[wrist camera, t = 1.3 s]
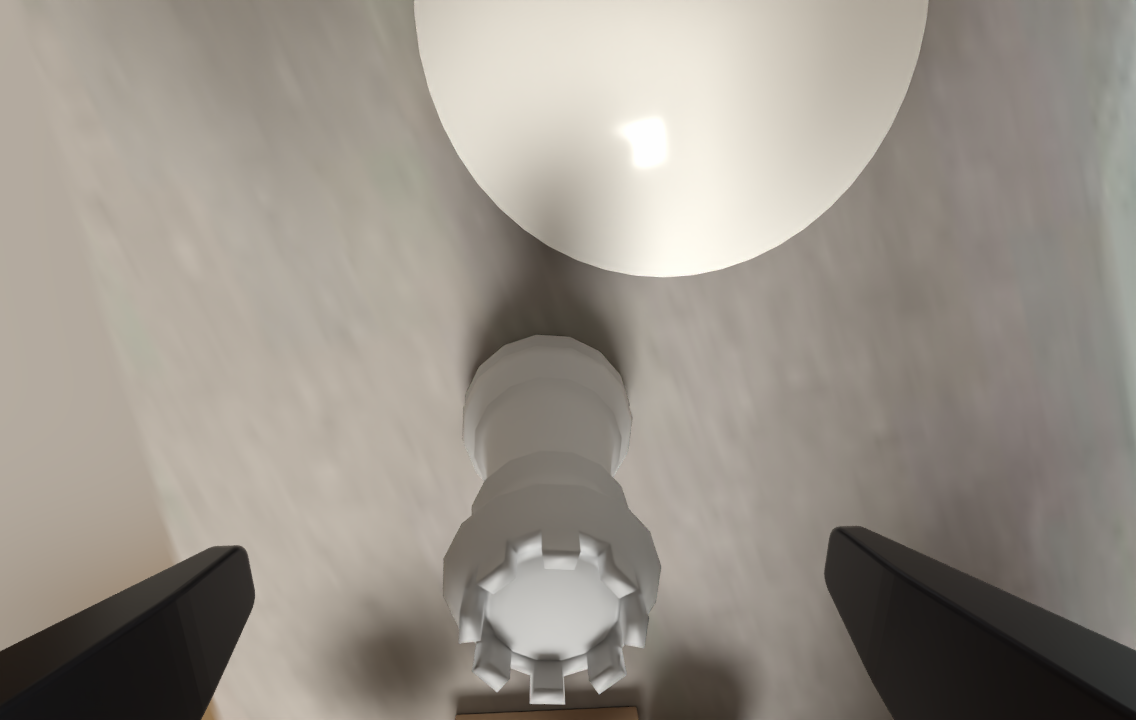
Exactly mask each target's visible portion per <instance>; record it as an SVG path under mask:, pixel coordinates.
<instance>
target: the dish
mask: <svg viewBox="0 0 1136 720" xmlns="http://www.w3.org/2000/svg"><path fill="white" fill-rule="evenodd" d="M928 2H929V0H414V15H415V23H416V30H417V38H418V46H419V53H420V57H421V61H422V65H423V69H424V73H425V77H426V81H427V85H428V89H429V91H430V94H431V97H432V99H433V102H434V105H435V107H436V110H437V113H438V115H439V118H440V121H441V123H442V125H443V127H444V129H445V131H446V133H447V135H448V137H449V139H450V141H451V142H452V144H453V146H454V148H455V150H456V152H457V154H458V156H459V157H460V159H461V160H462V162H463V163H464V164H465V166H466V167H467V169H468V170H469V172H470V173H471V175H472V176H473V178H474V179H475V181H476V182H477V183H478V185H479V186H480V187H481V188H482V189H483V190H484V191H485V192H486V194H487V195H488V196H489V197H490V198H491V199H492V200H493V201H494V203H495V204H496V205H497V206H498V207H499V208H500V209H501V210H502V211H503V212H504V213H506V214H507V215H508V216H509V217H510V218H511V219H512V220H513V221H515V222H516V223H517V224H518V225H519V226H520V227H521V228H523V229H524V230H525V231H527V232H528V233H530V234H531V235H533V236H534V237H536V238H537V239H539V240H540V241H542V242H543V243H545V244H546V245H548V246H549V247H551V248H553V249H555V250H557V251H559V252H561V253H563V254H565V255H567V256H569V257H571V258H573V259H575V260H578V261H581V262H584V263H586V264H589V265H592V266H595V267H598V268H601V269H604V270H609V271H614V272H619V273H624V274H629V275H634V276H652V277H673V276H687V275H696V274H700V273H705V272H710V271H715V270H720V269H724V268H727V267H729V266H732V265H735V264H738V263H741V262H744V261H747V260H750V259H752V258H754V257H756V256H758V255H760V254H762V253H764V252H766V251H768V250H770V249H772V248H774V247H776V246H779V245H780V244H782V243H783V242H785V241H786V240H788V239H789V238H791V237H792V236H794V235H795V234H797V233H798V232H800V231H802V230H803V229H805V228H806V227H807V226H808V225H809V224H811V223H812V222H813V221H814V220H815V219H817V218H818V217H819V216H820V215H821V214H823V213H824V212H825V211H826V210H827V209H829V208H830V207H831V206H832V205H833V204H834V203H835V201H836V200H837V199H838V198H839V197H840V196H841V195H842V194H843V193H844V192H845V191H846V190H847V189H848V188H849V187H850V186H851V185H852V184H853V182H854V181H855V180H856V178H857V177H858V176H859V174H860V173H861V172H862V170H863V169H864V168H865V167H866V165H867V164H868V163H869V161H870V160H871V159H872V157H873V156H874V154H875V153H876V151H877V149H878V148H879V146H880V144H881V143H882V141H883V139H884V138H885V136H886V134H887V133H888V131H889V129H890V128H891V126H892V124H893V121H894V119H895V117H896V115H897V113H898V111H899V108H900V106H901V104H902V102H903V100H904V98H905V95H906V93H907V90H908V87H909V84H910V81H911V78H912V75H913V72H914V69H915V66H916V63H917V60H918V57H919V53H920V48H921V43H922V39H923V34H924V30H925V25H926V20H927V11H928Z"/></svg>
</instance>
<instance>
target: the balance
mask: <svg viewBox="0 0 1136 720" xmlns="http://www.w3.org/2000/svg"><path fill="white" fill-rule="evenodd" d="M455 720H638V714H637V709H636V707H617V708H595V709H574V710H552V711H531V712H510V713H488V714H467V715H456V718H455Z"/></svg>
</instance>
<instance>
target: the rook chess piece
mask: <svg viewBox="0 0 1136 720" xmlns="http://www.w3.org/2000/svg"><path fill="white" fill-rule="evenodd" d="M629 406H630V404H629V401H628V398H627V394H626V391H625V388H624V385H623V381H622V378H621V375H620V374H619V373H618V372H617V371H616V369H615V368H614V367H613V366H612V365H611V364H610V363H609V361H608V360H607V359H606V358H605V357H604V356H603V355H602V353H601V352H600V351H598V350H596V349H594V348H592V347H590V346H588V345H586V344H584V343H582V342H579V341H577V340H575V339H573V338H571V337H564V336H549V335H534V336H531V337H528V338H525V339H521V340H518V341H515V342H512V343H509V344H506V345H504V346H503V347H501V348H500V349H499V350H498V351H497V352H496V353H494V354H493V355H492V356H491V357H490V358H489V359H487V360H486V361H485V362H484V363H483V364H482V365H480V366H479V368H478V370H477V372H476V374H475V376H474V378H473V380H472V382H471V384H470V386H469V389H468V391H467V393H466V395H465V405H464V407H463V437H462V439H463V442H464V445H465V447H466V450H467V452H468V455H469V457H470V459H471V462H472V464H473V467H474V469H475V471H476V473H477V474H478V475H479V476H480V477H481V478H482V479H483V480H484V483H483V485H482V487H481V489H480V491H479V493H478V495H477V497H476V499H475V501H474V503H473V505H472V516H471V517H469V518H468V519H467V520H466V521H464V522H463V523H462V524H461V526H460V528H459V530H458V532H457V534H456V536H455V538H454V539H453V541H452V543H451V545H450V547H449V549H448V551H447V553H446V555H445V557H444V567H443V596H444V598H445V601H446V603H447V605H448V607H449V609H450V611H451V613H452V615H453V617H454V620H455V622H456V624H457V626H458V628H459V644H460V643H467V642H474V643H475V644H476V648H475V655H474V662H473V668H472V672H473V673H474V674H476V675H477V676H478V677H479V678H480V679H482V680H483V681H484V682H485V683H486V684H488V685H489V686H490V687H491V688H492V689H494V690H495V691H496V692H498V691H499V690H500V689H501V688H502V687H503V685H504V684H505V683H506V682H507V681H508V680H509V679H510V668H511V669H514V670H516V671H519V672H522V673H525V674H527V675H530V704H565V691H564V676H566V675H570V674H573V673H576V672H580V671H583V670H586V669H588V675H589V681H590V682H591V684H592V685H593V687H594V688H595V689H596V691H597V692H598V694H600V693H602V692H603V691H605V690H606V689H607V688H609V687H610V686H612V685H613V684H615V683H616V682H617V681H619V680H620V679H622V678H623V677H625V676H626V675H627V674H626V668H625V663H624V657H623V652H622V647H623V646H624V645H629V646H634V647H640V648H644V647H645V641H646V634H647V627H648V620H649V617H648V613H649V612H650V610H651V609H652V607H653V606H654V604H655V603H656V598H657V591H658V584H659V578H660V571H661V564H660V561H659V558H658V555H657V552H656V549H655V546H654V542H653V539H652V536H651V533H650V531H649V530H648V529H647V528H646V527H645V526H644V525H643V524H642V523H641V521H640V520H639V519H638V518H637V517H636V516H635V515H634V514H633V513H632V512H631V511H630V510H629V508H628V505H627V502H626V499H625V496H624V493H623V490H622V487H621V486H620V484H619V483H618V482H617V481H616V480H615V479H614V478H613V477H614V475H615V474H616V472H617V470H618V468H619V467H620V465H621V463H622V462H623V460H624V458H625V457H626V455H627V452H628V449H629V442H630V434H631V426H632V414H631V411H630V408H629Z"/></svg>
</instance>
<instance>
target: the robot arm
mask: <svg viewBox="0 0 1136 720" xmlns="http://www.w3.org/2000/svg"><path fill="white" fill-rule="evenodd" d="M824 575H825V582H826V585H827V588H828V591H829V593H830V595H831V597H832V599H833V601H834V603H835V605H836V607H837V610H838V612H839V614H840V616H841V618H842V620H843V622H844V624H845V626H846V628H847V631H848V633H849V635H850V637H851V639H852V641H853V643H854V645H855V647H856V650H857V652H858V654H859V656H860V658H861V660H862V662H863V664H864V666H865V668H866V670H867V672H868V674H869V676H870V678H871V680H872V682H873V684H874V686H875V688H876V689H877V691H878V693H879V695H880V696H881V698H882V700H883V702H884V703H885V705H886V707H887V708H888V710H889V712H890V713H891V715H892V717H893V719H894V720H1136V650H1133V649H1131V648H1129V647H1127V646H1125V645H1122V644H1120V643H1118V642H1116V641H1114V640H1111V639H1109V638H1107V637H1105V636H1103V635H1100V634H1098V633H1096V632H1094V631H1092V630H1089V629H1087V628H1085V627H1083V626H1080V625H1078V624H1076V623H1074V622H1072V621H1069V620H1067V619H1065V618H1063V617H1061V616H1058V615H1056V614H1054V613H1052V612H1050V611H1047V610H1045V609H1043V608H1041V607H1039V606H1036V605H1034V604H1032V603H1030V602H1027V601H1025V600H1023V599H1021V598H1019V597H1016V596H1014V595H1012V594H1010V593H1008V592H1005V591H1003V590H1001V589H999V588H997V587H994V586H992V585H990V584H988V583H986V582H983V581H981V580H979V579H977V578H974V577H972V576H970V575H968V574H966V573H963V572H961V571H959V570H957V569H955V568H952V567H950V566H948V565H946V564H944V563H941V562H939V561H937V560H935V559H933V558H930V557H928V556H926V555H924V554H921V553H919V552H917V551H915V550H913V549H910V548H908V547H906V546H904V545H902V544H899V543H897V542H895V541H893V540H891V539H888V538H886V537H884V536H882V535H880V534H877V533H875V532H873V531H871V530H868V529H866V528H864V527H861V526H842V527H836V528H834V529H833V530H832V532H831V534H830V538H829V544H828V551H827V557H826V564H825V571H824ZM254 600H255V589H254V584H253V579H252V574H251V569H250V564H249V559H248V554H247V551H246V550H245V548H243V547H242V546H239V545H234V546H214V547H211V548H208V549H206V550H204V551H202V552H200V553H198V554H196V555H194V556H192V557H190V558H188V559H186V560H184V561H182V562H180V563H178V564H176V565H174V566H172V567H170V568H168V569H166V570H164V571H162V572H160V573H158V574H156V575H154V576H152V577H150V578H148V579H145V580H144V581H142V582H140V583H138V584H135V585H133V586H131V587H129V588H127V589H125V590H123V591H121V592H120V593H117V594H115V595H113V596H111V597H109V598H107V599H105V600H103V601H101V602H99V603H97V604H95V605H93V606H91V607H89V608H87V609H85V610H83V611H81V612H79V613H77V614H75V615H73V616H71V617H69V618H66V619H64V620H62V621H60V622H58V623H56V624H54V625H52V626H50V627H48V628H46V629H44V630H42V631H40V632H38V633H36V634H34V635H32V636H30V637H28V638H26V639H24V640H22V641H20V642H18V643H16V644H14V645H12V646H10V647H8V648H6V649H4V650H2V651H0V720H201V719H202V717H203V715H204V713H205V711H206V709H207V707H208V705H209V703H210V701H211V699H212V697H213V695H214V692H215V690H216V688H217V686H218V683H219V681H220V679H221V677H222V675H223V672H224V670H225V668H226V666H227V664H228V661H229V659H230V657H231V655H232V653H233V650H234V648H235V646H236V644H237V642H238V639H239V637H240V635H241V633H242V631H243V628H244V626H245V624H246V622H247V620H248V617H249V615H250V613H251V611H252V608H253V605H254Z"/></svg>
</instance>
